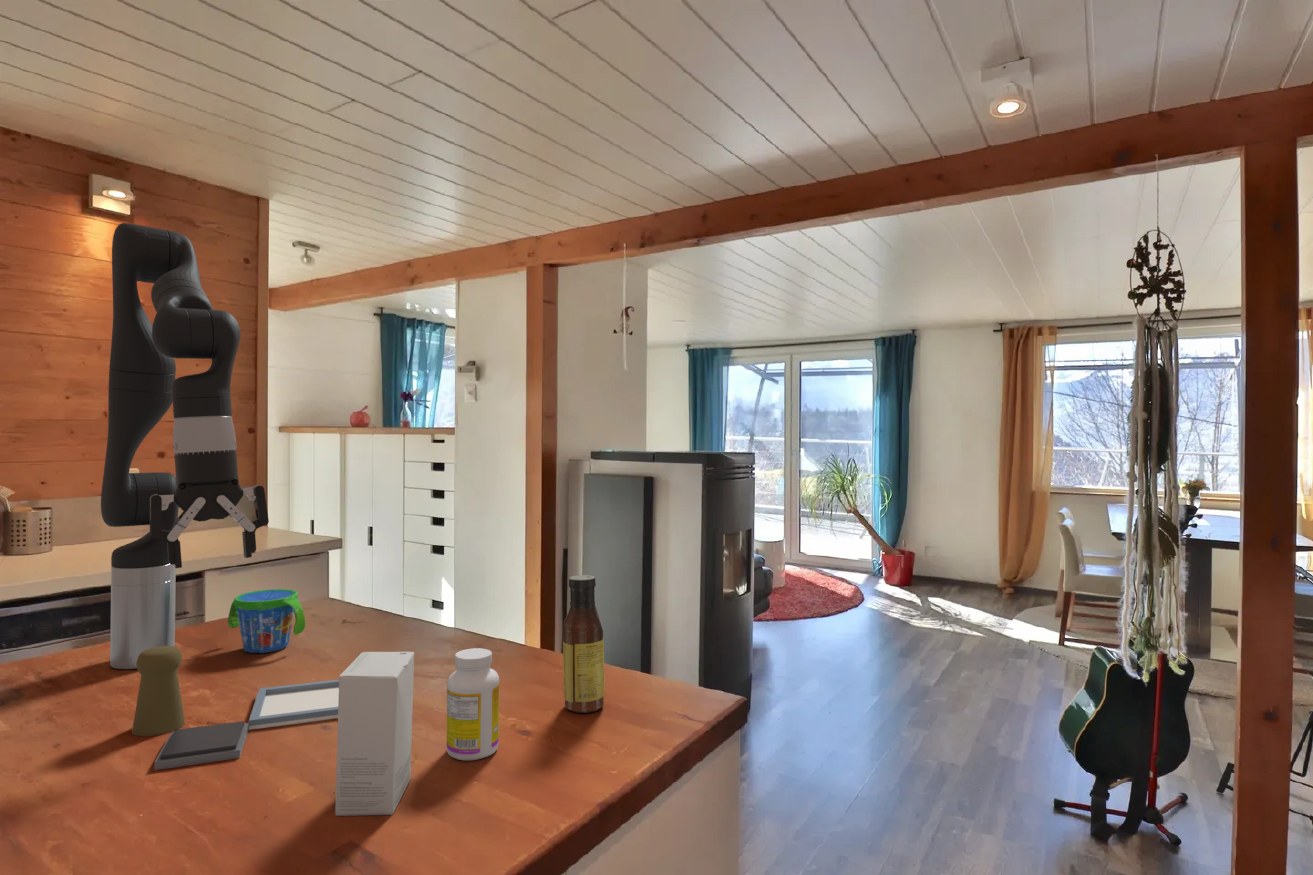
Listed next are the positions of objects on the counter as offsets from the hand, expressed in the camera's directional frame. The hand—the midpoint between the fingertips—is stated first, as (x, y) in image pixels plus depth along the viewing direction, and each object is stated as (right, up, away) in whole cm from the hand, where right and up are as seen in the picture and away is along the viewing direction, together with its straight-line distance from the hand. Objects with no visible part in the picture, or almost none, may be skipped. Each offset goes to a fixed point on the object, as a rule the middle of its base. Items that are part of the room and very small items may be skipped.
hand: (213, 562), depth 102 cm
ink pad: (+5, -23, -10) cm, 25 cm away
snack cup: (-10, -22, +32) cm, 40 cm away
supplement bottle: (+39, -23, -9) cm, 47 cm away
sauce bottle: (+52, -24, +7) cm, 58 cm away
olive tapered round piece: (-6, -23, -3) cm, 23 cm away
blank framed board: (+10, -23, +5) cm, 25 cm away
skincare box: (+31, -23, -21) cm, 44 cm away
